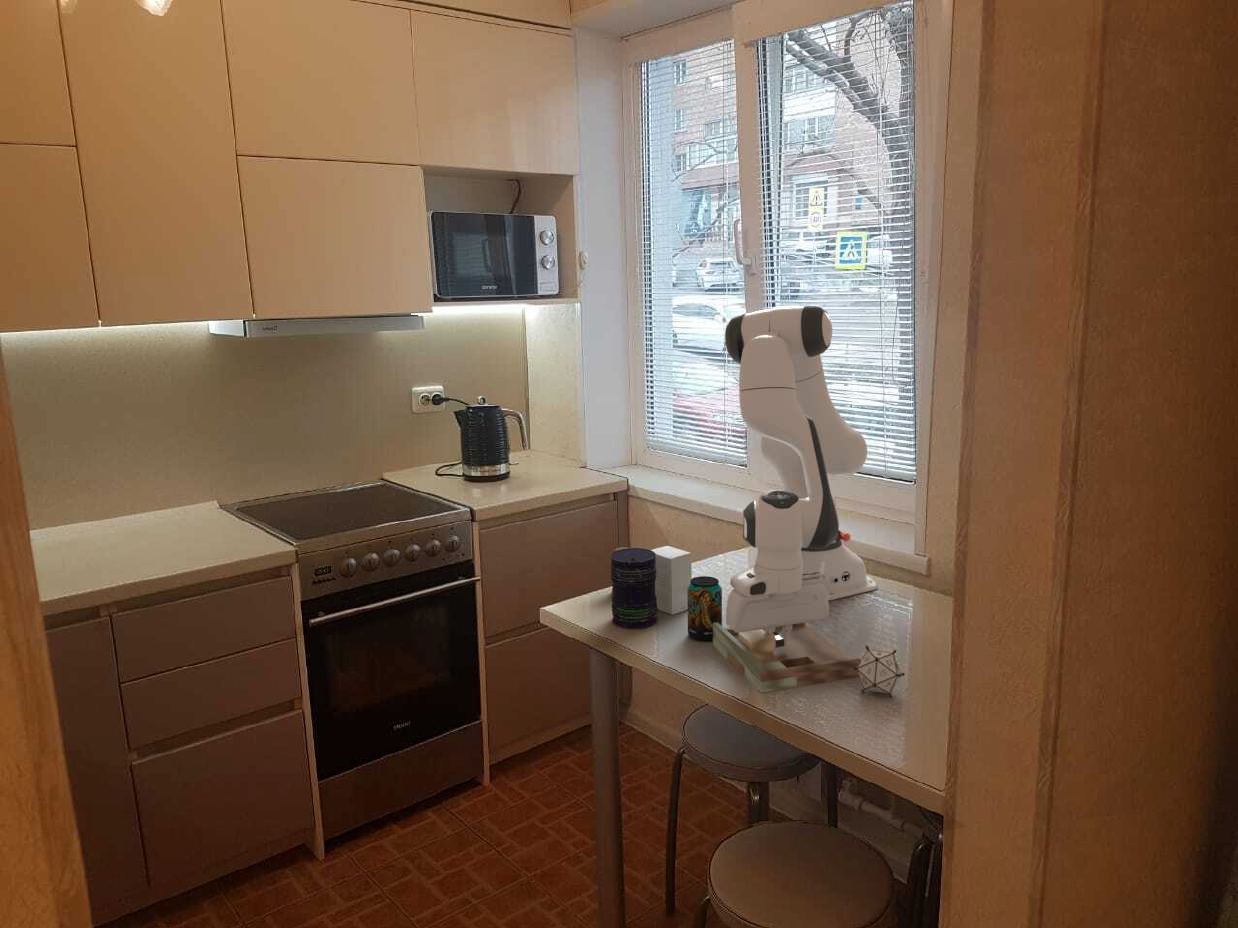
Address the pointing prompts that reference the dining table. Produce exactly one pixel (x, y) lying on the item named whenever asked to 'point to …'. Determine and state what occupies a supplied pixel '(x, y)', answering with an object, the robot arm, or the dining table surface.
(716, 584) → the beverage can
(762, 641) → the beech block
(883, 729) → the dining table surface
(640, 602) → the storage jar
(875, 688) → the game die
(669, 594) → the small box
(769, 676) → the box
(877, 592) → the dining table surface
